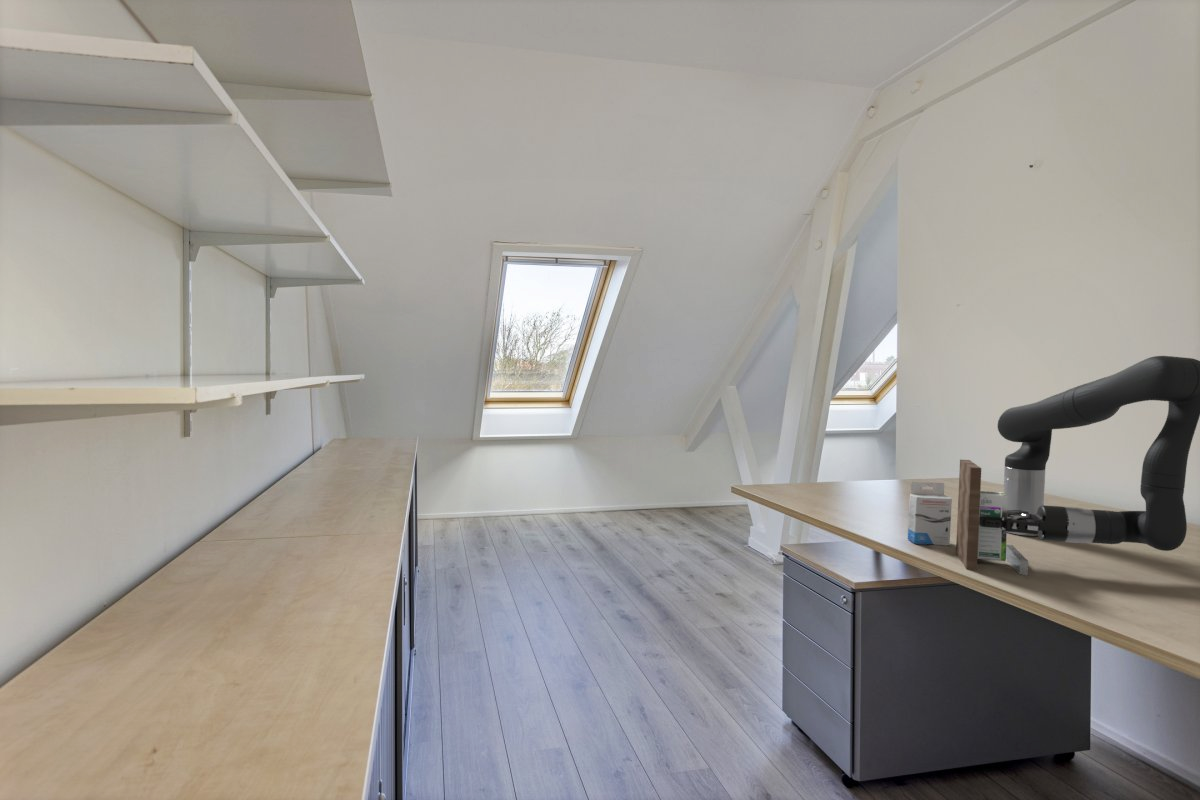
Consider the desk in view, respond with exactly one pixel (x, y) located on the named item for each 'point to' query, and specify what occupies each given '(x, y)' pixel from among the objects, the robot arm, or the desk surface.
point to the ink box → (929, 514)
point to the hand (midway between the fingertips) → (977, 518)
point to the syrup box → (989, 537)
